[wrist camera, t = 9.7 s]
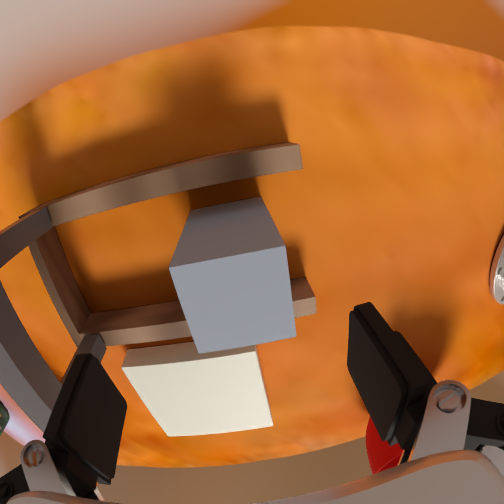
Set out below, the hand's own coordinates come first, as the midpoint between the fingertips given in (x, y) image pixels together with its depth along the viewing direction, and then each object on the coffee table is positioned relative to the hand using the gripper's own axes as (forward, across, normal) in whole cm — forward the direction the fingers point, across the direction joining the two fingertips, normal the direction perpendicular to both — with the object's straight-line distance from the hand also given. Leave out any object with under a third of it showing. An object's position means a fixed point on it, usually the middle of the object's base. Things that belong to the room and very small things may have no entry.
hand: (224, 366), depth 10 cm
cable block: (+13, -1, 0) cm, 13 cm away
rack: (+13, +4, 0) cm, 14 cm away
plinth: (+13, +5, +15) cm, 21 cm away
